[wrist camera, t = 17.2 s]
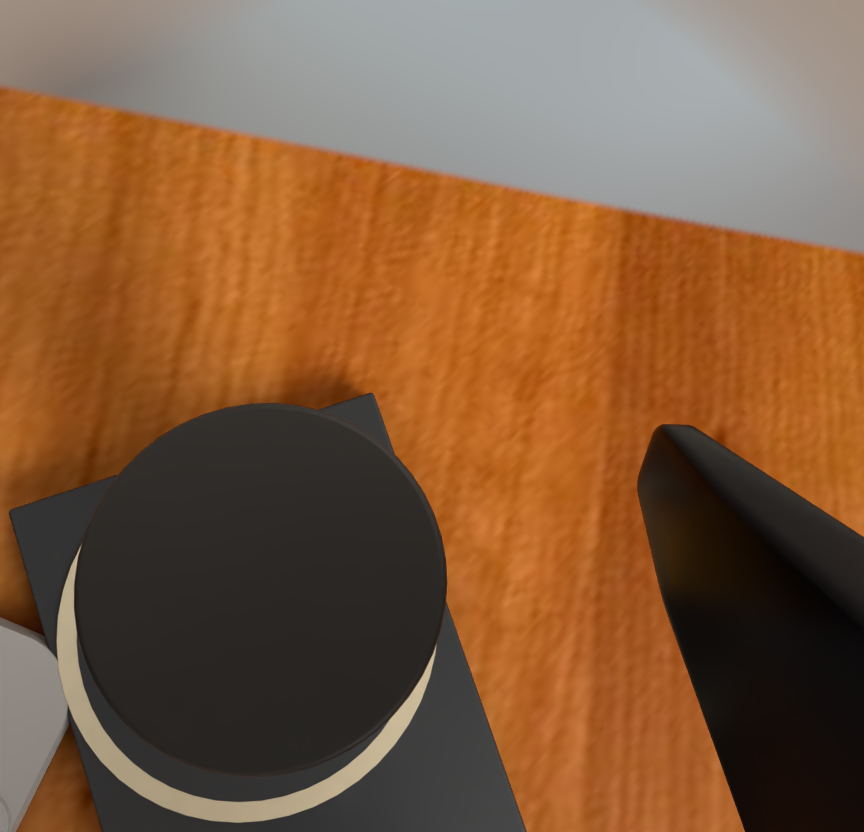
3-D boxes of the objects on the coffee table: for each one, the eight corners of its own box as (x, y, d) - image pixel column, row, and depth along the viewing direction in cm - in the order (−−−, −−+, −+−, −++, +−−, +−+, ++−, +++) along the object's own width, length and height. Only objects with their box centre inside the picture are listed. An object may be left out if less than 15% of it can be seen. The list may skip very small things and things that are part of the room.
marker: (393, 541, 19) (518, 550, 7) (311, 647, 19) (291, 860, 6) (293, 461, 19) (243, 329, 7) (208, 564, 18) (-15, 620, 6)
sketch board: (592, 1033, 19) (608, 1064, 18) (231, 1219, 17) (225, 1265, 16) (370, 398, 21) (373, 390, 20) (22, 511, 19) (4, 509, 18)
